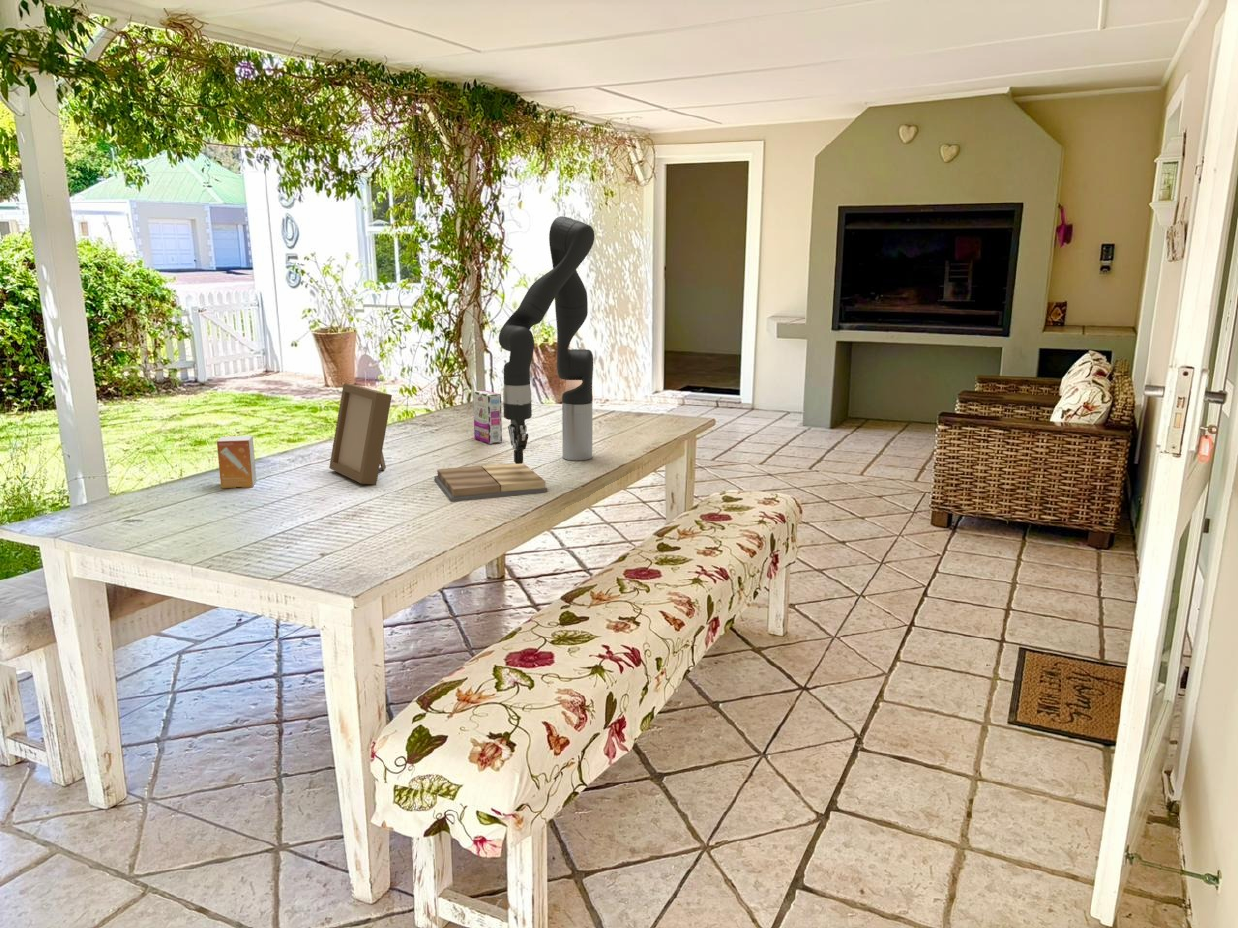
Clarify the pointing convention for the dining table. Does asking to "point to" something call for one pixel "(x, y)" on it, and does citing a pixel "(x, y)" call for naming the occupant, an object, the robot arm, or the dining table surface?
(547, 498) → the dining table surface
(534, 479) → the oak plank
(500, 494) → the underlay mat
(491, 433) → the candy bar box
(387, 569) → the dining table surface
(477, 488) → the walnut plank
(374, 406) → the photo frame
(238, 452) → the small box
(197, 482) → the dining table surface
